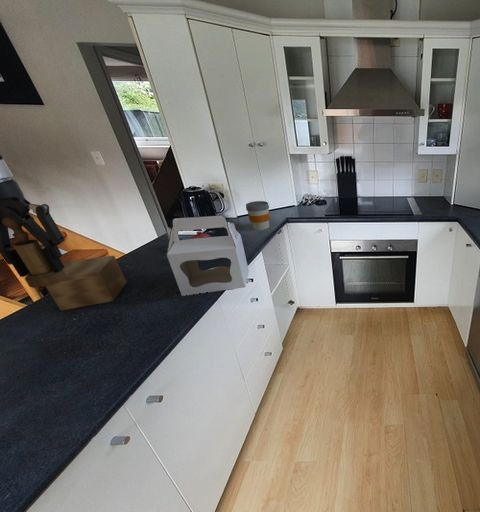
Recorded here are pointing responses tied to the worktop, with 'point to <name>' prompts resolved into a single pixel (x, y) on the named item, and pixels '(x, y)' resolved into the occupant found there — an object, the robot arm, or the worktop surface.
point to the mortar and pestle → (33, 258)
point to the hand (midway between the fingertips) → (43, 271)
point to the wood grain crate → (88, 283)
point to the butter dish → (200, 235)
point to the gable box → (206, 256)
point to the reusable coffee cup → (258, 214)
